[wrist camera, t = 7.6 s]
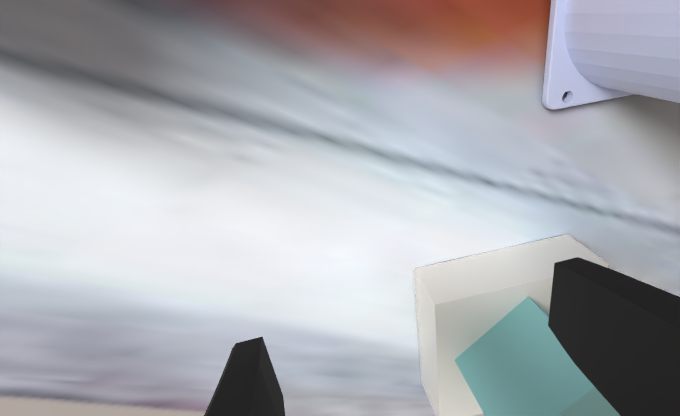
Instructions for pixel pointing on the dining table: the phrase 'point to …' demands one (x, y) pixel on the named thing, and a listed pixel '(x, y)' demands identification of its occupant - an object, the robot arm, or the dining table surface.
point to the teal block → (528, 370)
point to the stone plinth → (478, 308)
